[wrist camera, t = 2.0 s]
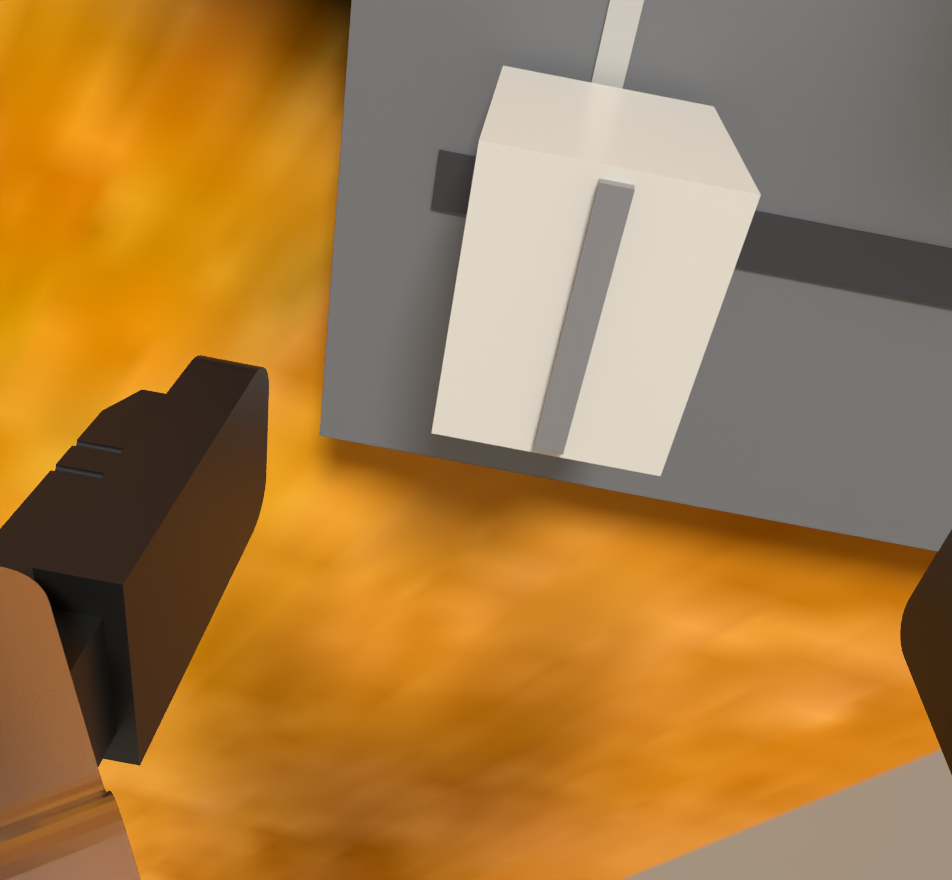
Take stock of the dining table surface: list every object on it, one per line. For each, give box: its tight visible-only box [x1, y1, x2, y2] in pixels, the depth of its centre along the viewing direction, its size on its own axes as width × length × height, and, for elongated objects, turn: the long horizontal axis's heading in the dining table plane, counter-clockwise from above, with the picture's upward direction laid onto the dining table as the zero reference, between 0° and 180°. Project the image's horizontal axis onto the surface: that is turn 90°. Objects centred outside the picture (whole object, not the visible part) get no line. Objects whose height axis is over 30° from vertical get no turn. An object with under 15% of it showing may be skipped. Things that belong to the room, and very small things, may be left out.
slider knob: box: [431, 66, 761, 476], centre depth 16 cm, size 4×5×5 cm
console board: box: [320, 0, 952, 551], centre depth 19 cm, size 22×14×3 cm, turn 81°
